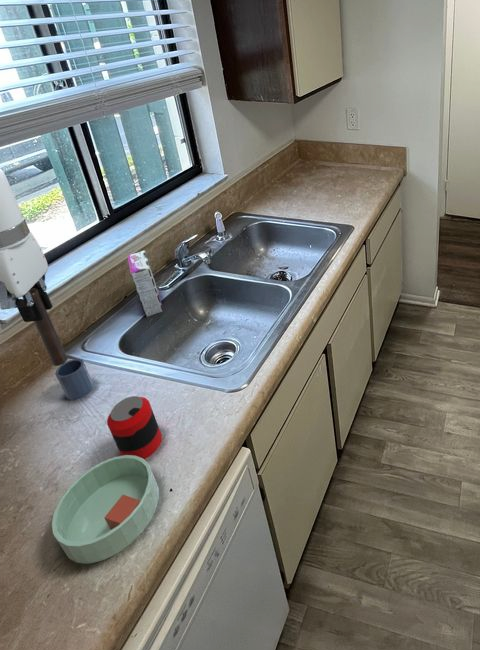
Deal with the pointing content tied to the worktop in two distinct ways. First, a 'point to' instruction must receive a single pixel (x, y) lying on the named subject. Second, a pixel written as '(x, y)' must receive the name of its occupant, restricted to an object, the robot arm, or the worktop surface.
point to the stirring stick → (48, 332)
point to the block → (121, 511)
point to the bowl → (104, 509)
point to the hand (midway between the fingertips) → (38, 314)
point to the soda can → (134, 427)
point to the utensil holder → (74, 379)
